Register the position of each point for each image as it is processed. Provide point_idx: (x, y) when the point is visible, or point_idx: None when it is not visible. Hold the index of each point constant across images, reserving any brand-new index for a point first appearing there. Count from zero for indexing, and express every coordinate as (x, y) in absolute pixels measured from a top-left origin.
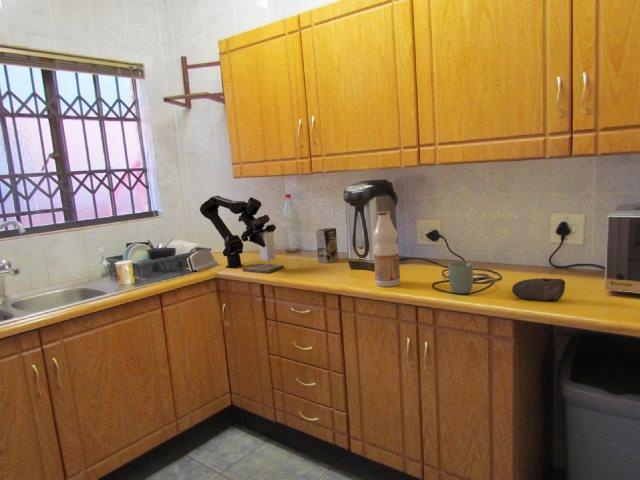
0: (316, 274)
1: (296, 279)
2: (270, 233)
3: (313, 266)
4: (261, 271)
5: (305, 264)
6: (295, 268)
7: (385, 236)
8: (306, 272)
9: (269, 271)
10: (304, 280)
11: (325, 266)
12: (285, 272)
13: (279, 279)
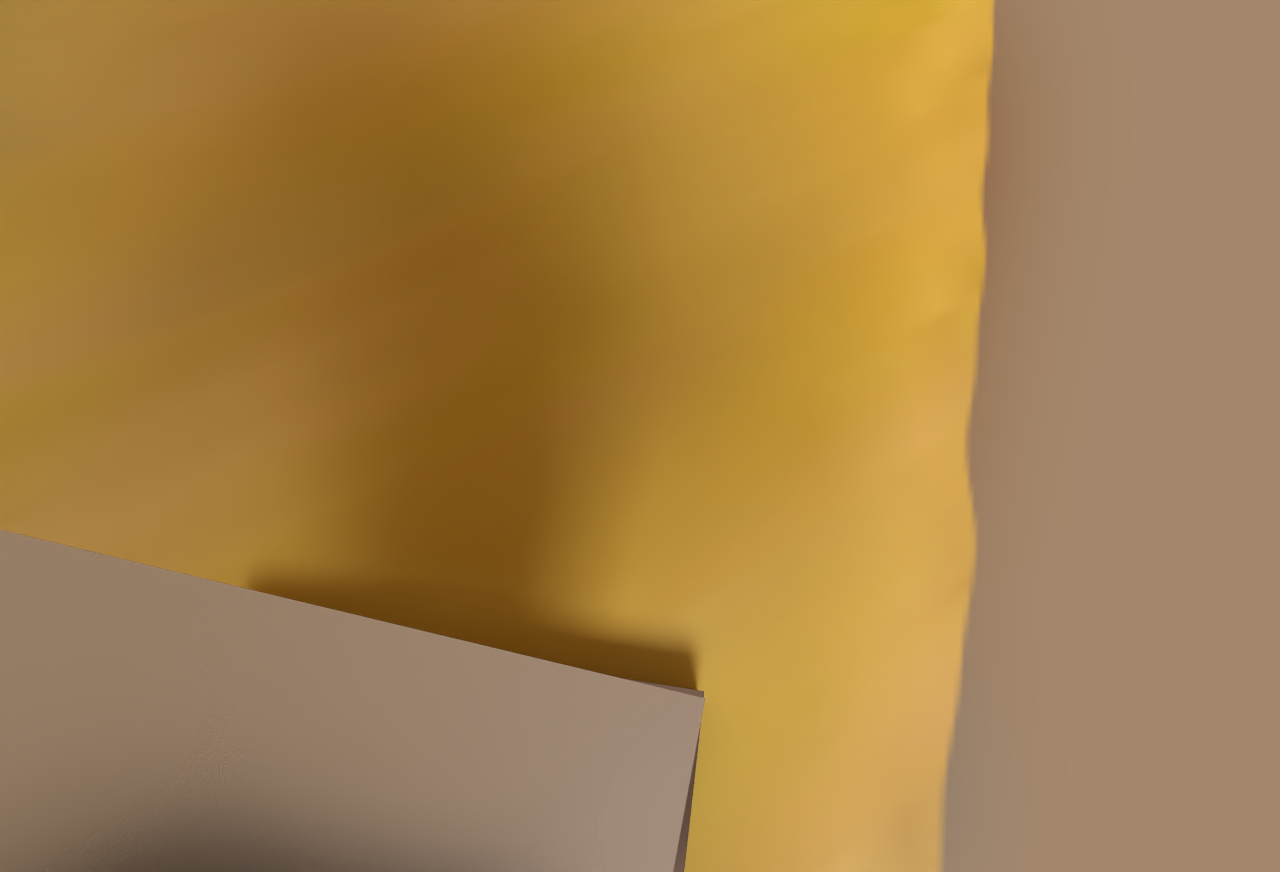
0: (623, 8)
1: (884, 125)
2: (116, 571)
3: (173, 194)
4: (682, 854)
5: (3, 369)
6: (301, 402)
7: None
8: (540, 148)
9: (652, 683)
10: (897, 32)
11: (187, 47)
12: (573, 431)
13: (946, 319)
